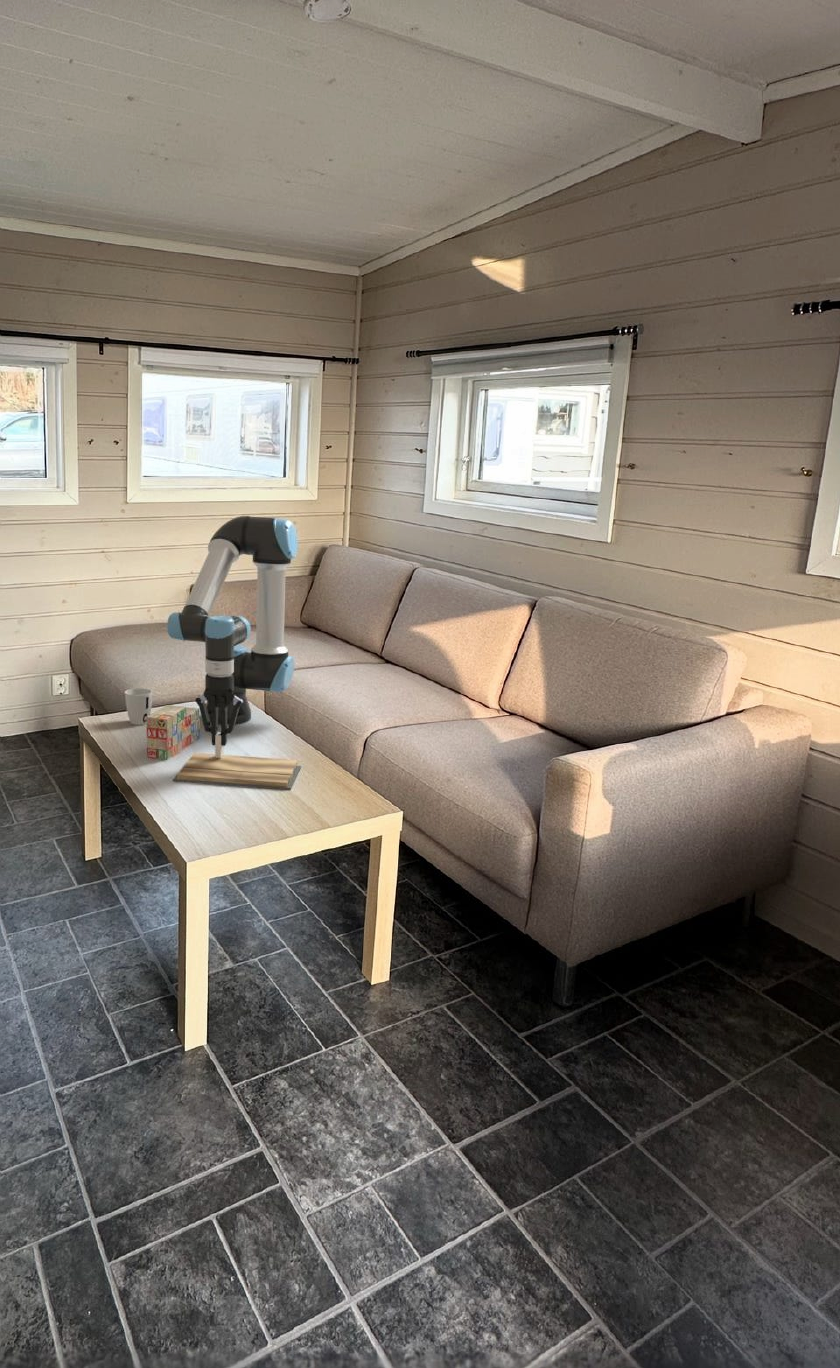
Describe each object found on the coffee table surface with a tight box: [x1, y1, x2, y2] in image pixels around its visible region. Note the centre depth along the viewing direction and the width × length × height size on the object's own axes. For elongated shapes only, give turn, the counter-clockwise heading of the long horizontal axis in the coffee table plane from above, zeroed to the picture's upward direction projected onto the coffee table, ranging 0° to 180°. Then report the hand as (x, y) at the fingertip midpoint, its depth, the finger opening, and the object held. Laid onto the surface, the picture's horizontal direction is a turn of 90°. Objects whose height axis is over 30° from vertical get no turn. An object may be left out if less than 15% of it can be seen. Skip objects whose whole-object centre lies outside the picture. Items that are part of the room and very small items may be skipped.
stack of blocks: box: [146, 704, 201, 761], centre depth 262 cm, size 21×6×12 cm, turn 169°
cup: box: [124, 687, 153, 726], centre depth 282 cm, size 8×8×10 cm
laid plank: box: [176, 767, 291, 787], centre depth 240 cm, size 6×29×1 cm, turn 88°
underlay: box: [172, 764, 302, 791], centre depth 245 cm, size 17×31×1 cm, turn 88°
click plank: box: [183, 752, 298, 778], centre depth 248 cm, size 10×29×1 cm, turn 88°
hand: (219, 756), depth 251 cm, fingers closed
